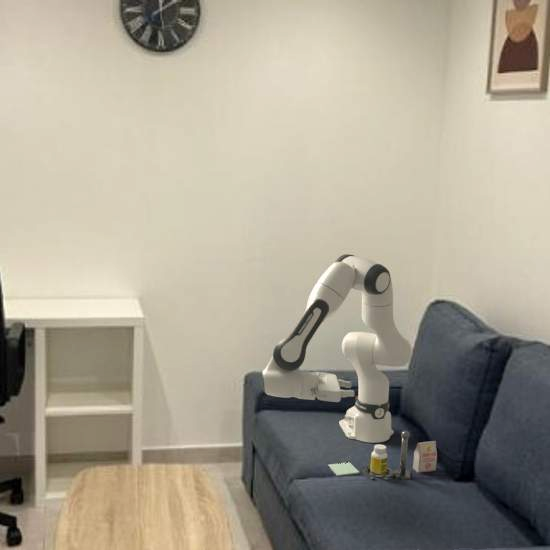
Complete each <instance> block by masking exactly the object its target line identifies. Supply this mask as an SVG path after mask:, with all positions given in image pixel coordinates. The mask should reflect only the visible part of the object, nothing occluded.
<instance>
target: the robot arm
mask: <svg viewBox="0 0 550 550" xmlns="http://www.w3.org/2000/svg"><path fill="white" fill-rule="evenodd" d="M390 273H391V272H390V271H389V270H388V268H387V267H385V266H384V265H383V264H380V263H377V262H375V261H373V260H370V259H368V258H363V257H360V256H356V255H353V254H348V253H347V254H342V255H340V256H339V257H338V258H337V259H336V260H335V262H333V263H332V264H331V265H330V266H329V267H328V268H327V269H326V270H325V271H324V273H323V274H322V275H321V276H320V277H319V278H318V280H317V282H315V284H314V286H313V288H312V290H311V291H310V294H309V297H308V299H307V301H306V307H305V311H304V312H303V315H302V317H301V318H300V319H299V322H298V323H297V324H296V326H295V327H294V329H292V330H293V331H292V332H291V333H290V334H289V335H288V336H286V337H285V338H283V339H282V340H280V341H279V342H277V344H276V345H275V347H274V349H273V354H272V356H271V358H270V360H269V362H268V364H267V365H266V367H265V368H264V369H263V370H261V375H260V376H261V377H260V378H261V386H262V387H261V388H262V390H263V392H264V393H265V394H266V395H268V396H272V397H277V398H288V399H289V398H292V397H293V398H297V399H299V400H312V401H314V400H316V398H317V400H319V401H324V402H330V403H331V402H332V403H339V402H341V400H342V398H348V397H350V398H351V397H355V404H354V406H352V407H350V408H348V409H347V410H346V413H345V415H344V418H343V419H341V420H339V426H340V428H341V429H342V431H343V433H344V435H345V436H346V438H347V437H348V438H347V439H349V440H350V439H351V440H357V441H360V442H364V443H371V444H372V443H384V442H386V441H388V440H390V438H391V436H392V435H394V433H395V432H394V430H393V429H392V414H391V412H390V411H389V409H390V400H389V393H390V392H389V391H390V381H389V379H388V377H387V376H386V375H385V374H384V373H383V372H382V371H381V370H379V368H378V367H377V366H376V365H379V366H385V367H390V368H391V367H392V368H393V367H394V368H395V367H398V368H399V367H405V366H407V365H408V363H409V362H410V361H411V359H412V355H413V349H412V345H411V344H410V342H409V341H408V340H407V339H406V338H405V337H404V336H403V335H402V334H401V333H400V331H399V330H398V328H397V326H396V324H395V319H394V290H393V289H394V288H393V283H392V282H393V281H392V277H391V274H390ZM352 289H353V290H357V291H360V292H361V319H362V322H363V324H364V325H365V326H366V327H367V328H369V329H370V330H371V331H373V333H372V332H367V331H366V332H365V331H350V332H348V333H347V334H346V335H345V336H344V337H343V339H342V342H341V351H342V354H343V356H344V357H345V358H346V359H348V361H349V362H350V363H351V364H352V366H353V367H354V370H355V371H356V375H357V378H358V379H357V381H358V382H357V383H358V395H356V396H355V390H353V389H351V388H352V382H351V381H346V380H343V379H340V378H339V379H338V376H337V375H336V374H334V373H329V372H321V371H316V370H315V369H308V371H300V367H301V366H302V365H303V363H304V362H305V359H306V353H307V347H308V345H309V343H310V342H311V340H312V338H313V337H314V335H315V334H316V332H317V331H318V329H319V328H320V326H321V325H322V324H323V323H324V322H325V321H327V320H329V318H332V316H333V315H334V314H335V313H336V312H337V311H338V310H339V309H340V308H341V306H342V305H343V304H344V302H345V300H346V298H347V297H348V295H349V293H350V292H351V290H352ZM341 387H342V388H346V389H347V390H346V389H341Z"/></svg>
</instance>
